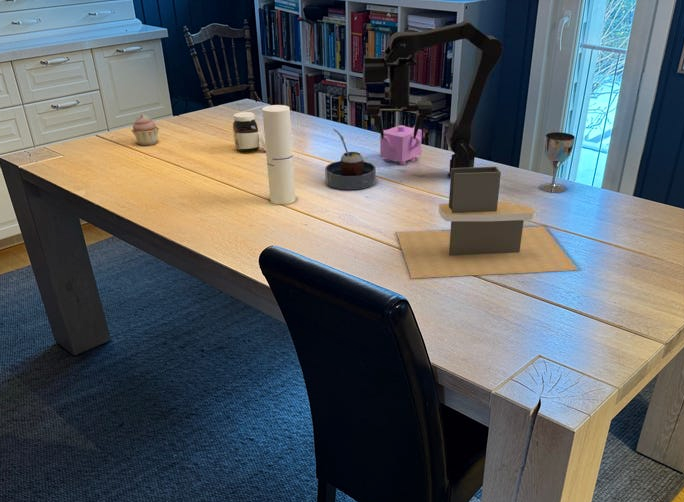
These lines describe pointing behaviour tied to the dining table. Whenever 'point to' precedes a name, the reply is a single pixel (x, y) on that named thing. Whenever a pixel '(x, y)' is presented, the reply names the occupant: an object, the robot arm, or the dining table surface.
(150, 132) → the cupcake
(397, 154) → the teapot
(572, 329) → the dining table surface
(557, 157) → the metal goblet
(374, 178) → the large metal bowl
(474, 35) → the robot arm
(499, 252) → the architectural model
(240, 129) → the spread jar
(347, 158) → the mate gourd
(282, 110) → the cylindrical container
